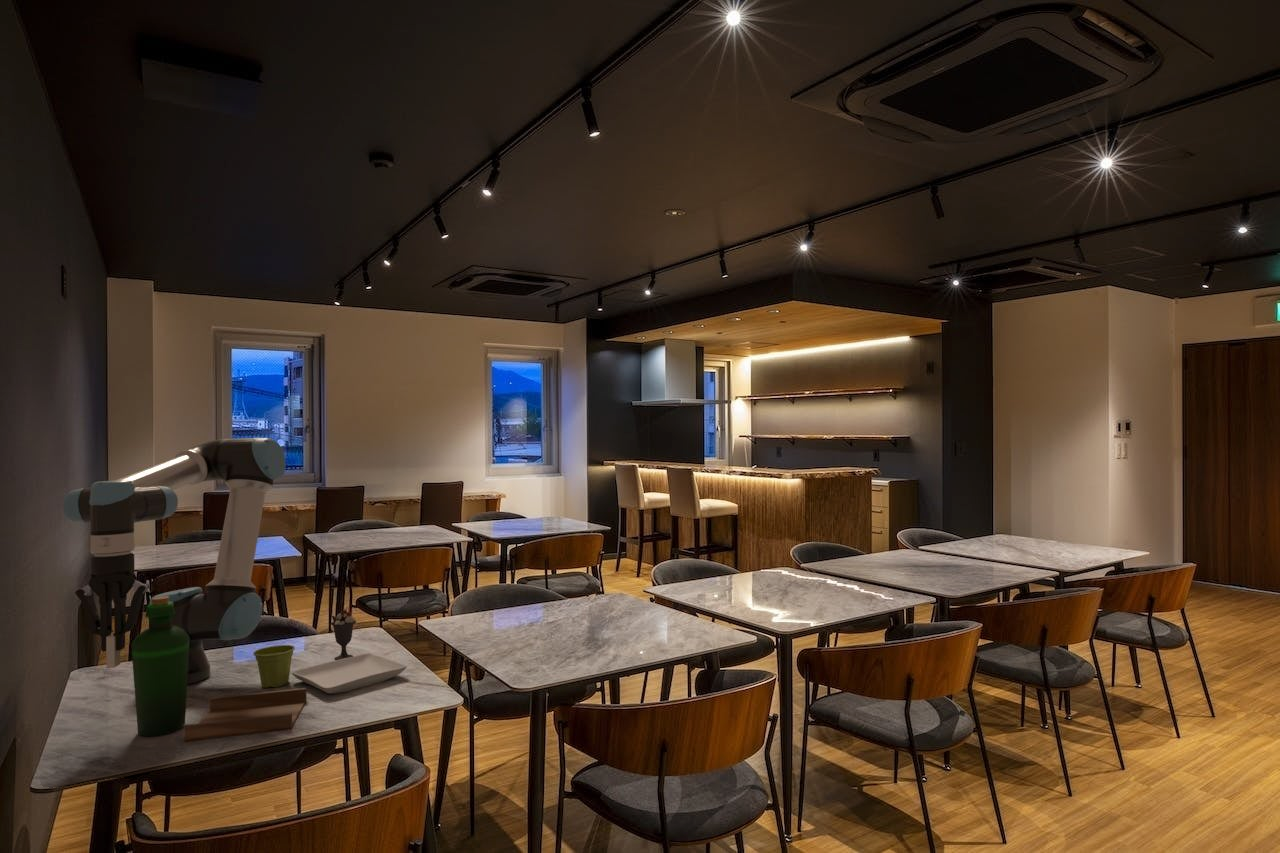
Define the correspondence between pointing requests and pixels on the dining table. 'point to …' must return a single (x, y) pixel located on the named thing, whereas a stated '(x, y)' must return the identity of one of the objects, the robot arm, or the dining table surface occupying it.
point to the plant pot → (274, 664)
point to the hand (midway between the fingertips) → (113, 666)
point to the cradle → (248, 714)
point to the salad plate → (349, 673)
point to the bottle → (160, 671)
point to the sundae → (343, 631)
